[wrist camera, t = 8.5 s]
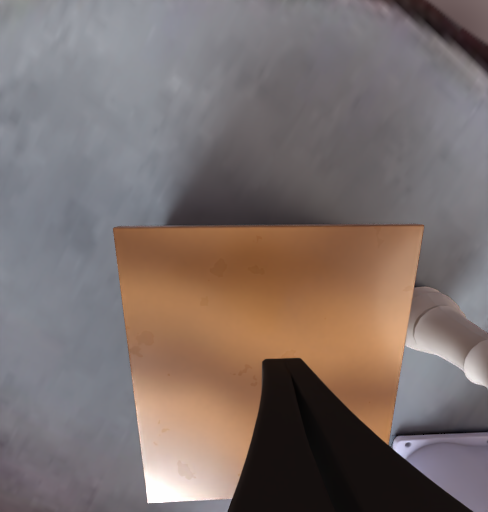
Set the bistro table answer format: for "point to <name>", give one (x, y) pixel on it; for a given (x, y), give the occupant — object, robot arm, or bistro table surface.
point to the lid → (255, 333)
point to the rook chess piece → (447, 333)
